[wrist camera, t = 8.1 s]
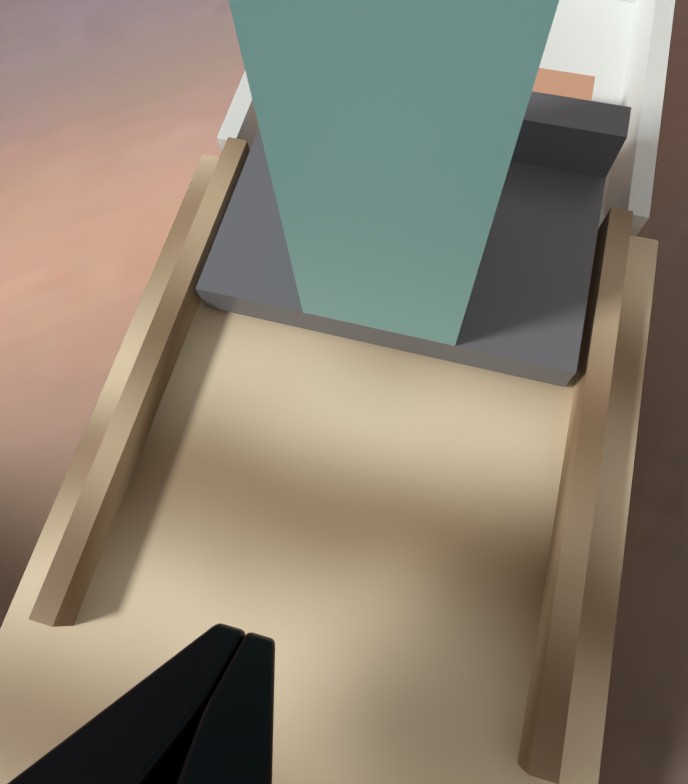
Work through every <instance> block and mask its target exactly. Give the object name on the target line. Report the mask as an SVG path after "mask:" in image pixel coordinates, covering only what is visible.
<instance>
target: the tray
mask: <svg viewBox="0 0 688 784" xmlns="http://www.w3.org/2000/svg"><path fill="white" fill-rule="evenodd" d="M674 6H675V0H559V3H558V6H557V9H556V13H555V16H554V19H553V23H552V26H551V29H550V33H549V36H548V39H547V43H546V46H545V49H544V53H543V56H542V59H541V63H540V66H539V68H544V69H550V70H557V71H563V72H569V73H576V74H582V75H589V76H595V81H594V88H593V94H592V101H596V102H602V103H608V104H614V105H621V106H627V107H631V114H630V121H629V128H628V135H627V139H626V140H625V142H624V144H623V146H622V148H621V150H620V152H619V154H618V155H617V157H616V159H615V161H614V163H613V165H612V167H611V169H610V171H609V172H608V174H607V176H606V180H605V186H604V193H603V200H602V206H601V213H600V219H599V226H598V229H599V227H600V225H601V223H602V222H603V220H604V218H605V217H606V215H607V213H608V211H609V210H610V208H611V207H612V208H618V209H623V210H629V211H633V218H632V226H631V233H630V235H633V236H637V235H638V233H639V232H640V230H641V229H642V228H643V226H644V225H645V223H646V222H647V220H648V219H649V216H650V208H651V199H652V191H653V182H654V174H655V166H656V157H657V149H658V141H659V132H660V124H661V115H662V107H663V99H664V90H665V82H666V73H667V65H668V57H669V48H670V40H671V32H672V23H673V15H674ZM258 129H259V126H258V121H257V117H256V113H255V109H254V105H253V100H252V96H251V92H250V88H249V84H248V79H247V75H246V71H245V72H244V75H243V77H242V79H241V82H240V84H239V87H238V89H237V91H236V94H235V96H234V98H233V101H232V103H231V105H230V108H229V110H228V113H227V115H226V117H225V120H224V122H223V124H222V127H221V129H220V132H219V134H218V136H217V140H218V143H219V146H220V149H221V152H222V151H223V148H224V146H225V143H226V141H227V139H228V137H231V138H237V139H242V140H247V142H248V146H249V149H251V147H252V144H253V142H254V139H255V137H256V134H257V132H258Z"/></svg>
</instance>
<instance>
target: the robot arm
mask: <svg viewBox="0 0 688 784" xmlns="http://www.w3.org/2000/svg"><path fill="white" fill-rule="evenodd" d="M274 678H275V641H274V640H273V639H272V638H270V637H266V636H263V635H259V634H256V633H253V632H249V633H247V634H245V632H244V631H243V630H242V629H239V628H236V627H233V626H229V625H226V624H221V623H219V624H216V625H214V626H212V627H211V628H210V629H209V630H207V631H206V632H205V633H203V634H202V635H201V636H199V637H198V638H197V639H195V640H194V641H193V642H192V643H190V644H189V645H188V646H186V647H185V648H184V649H182V650H181V651H180V652H179V653H177V654H176V655H175V656H173V657H172V658H171V659H169V660H168V661H167V662H165V663H164V664H163V665H162V666H160V667H159V668H158V669H156V670H155V671H154V672H152V673H151V674H150V675H148V676H147V677H146V678H145V679H143V680H142V681H141V682H139V683H138V684H137V685H135V686H134V687H133V688H132V689H130V690H129V691H128V692H126V693H125V694H124V695H122V696H121V697H120V698H118V699H117V700H116V701H115V702H113V703H112V704H111V705H109V706H108V707H107V708H105V709H104V710H103V711H101V712H100V713H99V714H98V715H96V716H95V717H94V718H92V719H91V720H90V721H88V722H87V723H86V724H85V725H83V726H82V727H81V728H79V729H78V730H77V731H75V732H74V733H73V734H71V735H70V736H69V737H68V738H66V739H65V740H64V741H62V742H61V743H60V744H58V745H57V746H56V747H54V748H53V749H52V750H51V751H49V752H48V753H47V754H45V755H44V756H43V757H41V758H40V759H39V760H38V761H36V762H35V763H34V764H32V765H31V766H30V767H28V768H27V769H26V770H24V771H23V772H22V773H21V774H19V775H18V776H17V777H15V778H14V779H13V780H11V781H10V782H9V783H7V784H272V765H273V721H274Z"/></svg>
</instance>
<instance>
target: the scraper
mask: <svg viewBox="0 0 688 784" xmlns="http://www.w3.org/2000/svg"><path fill="white" fill-rule="evenodd" d="M558 3H559V0H229V4H230V8H231V12H232V16H233V21H234V25H235V29H236V33H237V37H238V42H239V46H240V50H241V54H242V58H243V63H244V67H245V71H246V75H247V79H248V84H249V88H250V92H251V96H252V100H253V105H254V109H255V113H256V117H257V121H258V126H259V129H258V132H257V134H256V137H255V139H254V142H253V144H252V147H251V149H250V152H249V154H248V157H247V160H246V162H245V165H244V167H243V170H242V172H241V175H240V177H239V180H238V182H237V185H236V187H235V190H234V192H233V195H232V197H231V200H230V203H229V205H228V208H227V210H226V213H225V215H224V218H223V220H222V223H221V225H220V228H219V230H218V233H217V235H216V238H215V240H214V243H213V245H212V248H211V251H210V253H209V256H208V258H207V261H206V263H205V266H204V268H203V271H202V273H201V276H200V278H199V281H198V283H197V286H196V288H195V289H196V291H197V292H198V294H199V296H200V298H201V300H202V301H203V303H204V305H205V307H210V308H214V309H219V310H223V311H228V312H232V313H236V314H241V315H245V316H250V317H254V318H259V319H263V320H268V321H272V322H276V323H281V324H285V325H290V326H294V327H299V328H303V329H308V330H312V331H317V332H321V333H325V334H330V335H334V336H339V337H343V338H348V339H352V340H357V341H361V342H366V343H370V344H374V345H379V346H383V347H388V348H392V349H397V350H401V351H406V352H410V353H415V354H419V355H423V356H428V357H432V358H437V359H441V360H446V361H450V362H455V363H459V364H464V365H468V366H472V367H477V368H481V369H486V370H490V371H495V372H499V373H504V374H508V375H513V376H517V377H521V378H526V379H530V380H535V381H539V382H544V383H548V384H553V385H557V386H562V387H565V386H566V384H567V383H568V382H569V381H570V380H571V378H572V377H573V376H574V375H575V374H576V371H577V365H578V358H579V351H580V345H581V338H582V332H583V325H584V318H585V312H586V305H587V299H588V292H589V285H590V279H591V272H592V266H593V259H594V252H595V246H596V239H597V233H598V226H599V219H600V213H601V206H602V200H603V193H604V186H605V180H606V176H607V174H608V172H609V171H610V169H611V167H612V165H613V163H614V161H615V159H616V157H617V155H618V154H619V152H620V150H621V148H622V146H623V144H624V142H625V140H626V139H627V135H628V128H629V121H630V114H631V107H627V106H621V105H614V104H608V103H602V102H596V101H590V100H583V99H577V98H571V97H565V96H559V95H553V94H546V93H540V92H534V91H532V89H533V86H534V82H535V79H536V76H537V72H538V69H539V66H540V63H541V59H542V56H543V53H544V49H545V46H546V43H547V39H548V36H549V33H550V29H551V26H552V23H553V19H554V16H555V13H556V9H557V6H558Z"/></svg>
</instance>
